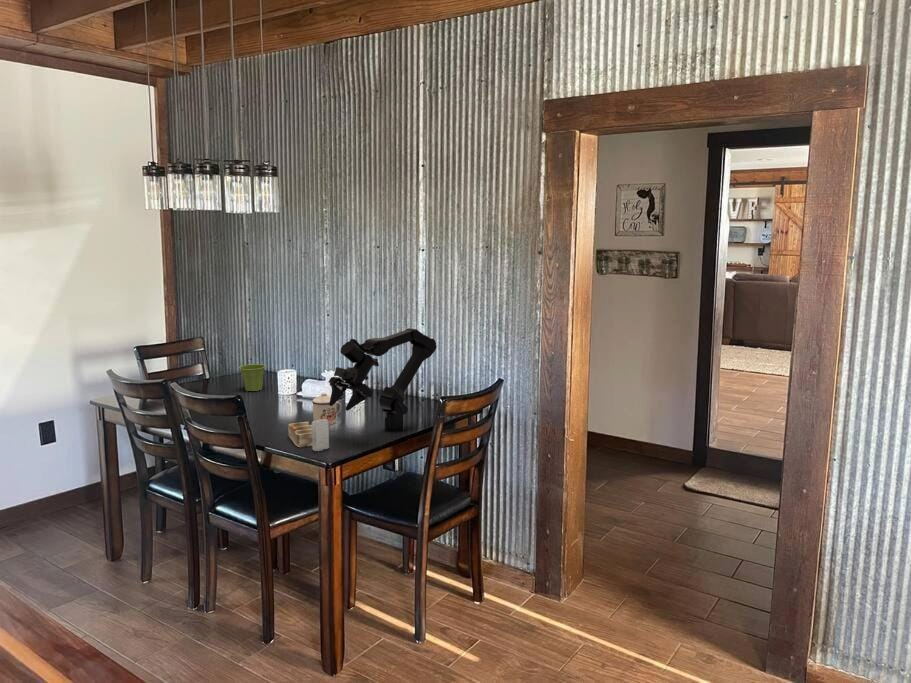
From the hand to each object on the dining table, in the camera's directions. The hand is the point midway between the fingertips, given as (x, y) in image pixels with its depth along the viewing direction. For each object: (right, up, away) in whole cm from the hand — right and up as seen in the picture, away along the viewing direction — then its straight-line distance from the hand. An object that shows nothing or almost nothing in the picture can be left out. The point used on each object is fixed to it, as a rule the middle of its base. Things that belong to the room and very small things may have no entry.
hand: (338, 407), depth 250 cm
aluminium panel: (-5, -14, -4) cm, 15 cm away
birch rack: (-13, -12, +6) cm, 19 cm away
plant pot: (-53, 0, +84) cm, 99 cm away
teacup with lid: (-9, -8, +30) cm, 33 cm away
